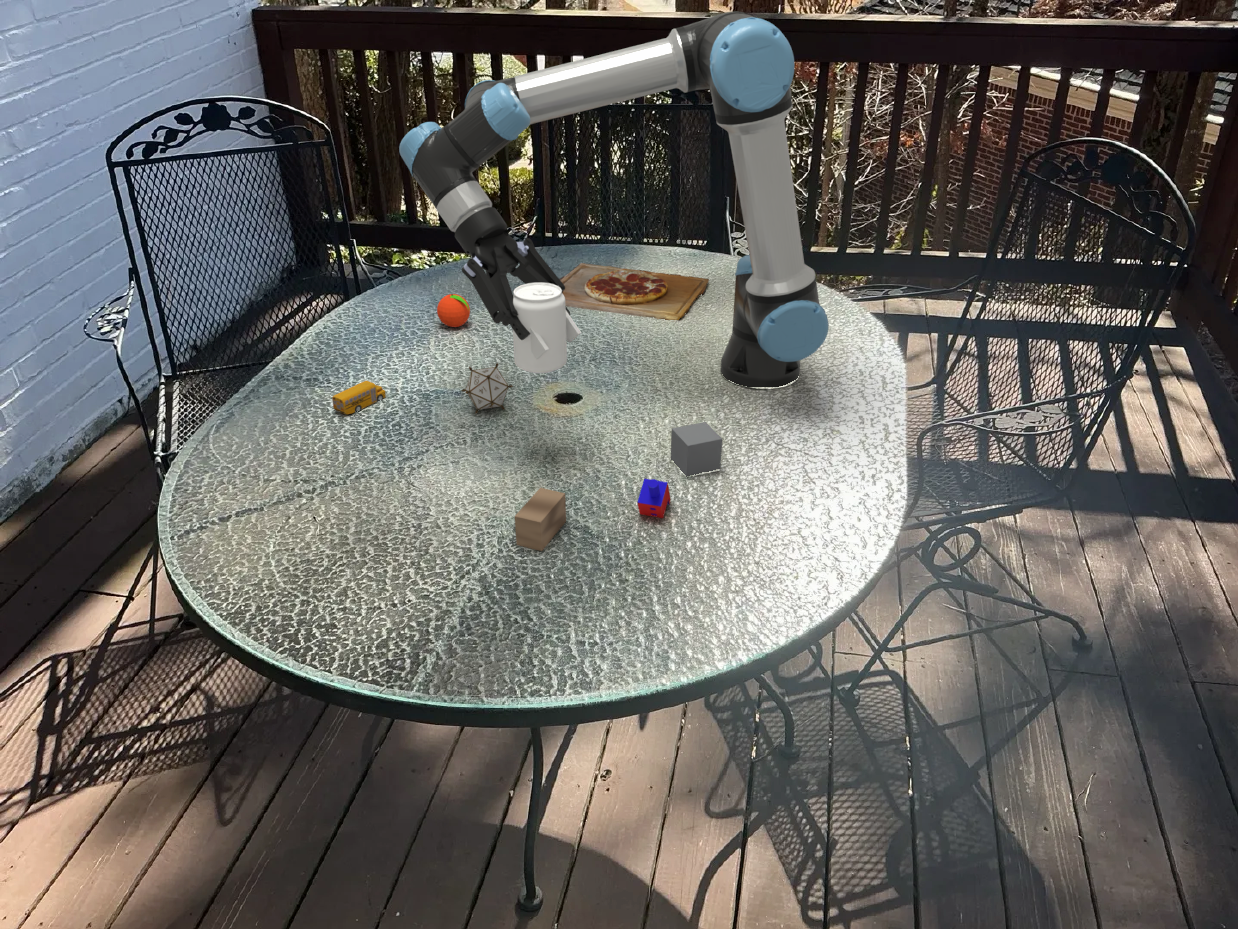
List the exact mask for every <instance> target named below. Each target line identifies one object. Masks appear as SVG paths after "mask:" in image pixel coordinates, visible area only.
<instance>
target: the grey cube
mask: <svg viewBox="0 0 1238 929" xmlns="http://www.w3.org/2000/svg"><path fill="white" fill-rule="evenodd" d="M670 436H671V437H670V458H671V460H673V461H674V463H675V464H676V465H677V466H678V467H679V468H680V470H681V471H682V472H683V473H684V474H685V475H686V477H687V476H690V475H694V474H695V475H696V474H699V473H702V472H709V471H713V470H716V469H720V470H721V466H722V465H721V464H722V450H723V437H721V436H720V435H719V434H718V433H717V432H716V431H715V430H714V429H713V428H712V427H711V426H710V424H708V422H706V421H701V422H697V423H693V424H688V425H686V424H685V425H682V426H681V425H680V426H677V427H672V428H671V434H670ZM671 460H670V461H671Z"/></svg>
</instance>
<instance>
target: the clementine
mask: <svg viewBox="0 0 1238 929" xmlns="http://www.w3.org/2000/svg"><path fill="white" fill-rule="evenodd" d="M436 307H437V308H436V312H437V313H436V314H437V317H438V318H439V321H440V322H442V324H444V325H445V326H447V327H449V328H458V327H462V326H464V325H465V324H466V322H467V321H468V320H469V318H470V313H471V308H470V304H469V303H468V301H467V300H466V299H465V297H463V296H462V295H459V294H456V293H450V294H447V295H445V296H443V297H442V298H441V299H440V300H439V302H438V304H437V306H436Z"/></svg>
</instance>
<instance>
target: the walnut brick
mask: <svg viewBox="0 0 1238 929" xmlns="http://www.w3.org/2000/svg"><path fill="white" fill-rule="evenodd" d="M566 522H567V506H566V492H561V491H557V490H553V489H548V488H543V487H539V489H538V490H537V491H536V492H534V494H533V495H532V496H531V497H530V498H529V500H528V501H526V503H525V504H524V505H523V506H522V507H521V508H520V509H519V511H518V512H517V513H516V514H515V515H514V524H515V525H514V530H515V540H516V541H515V542H516V545H517V546H520V547H524V548H527V549H532V550H535V551H540V552H543V551H544V549H545V548H546V547H547V546H548V544H549V543H550V542H551V541H552V540H553V538H554V537H555V536H556V534H557V533H558V532H559V531H560V530H561V529H562V527H563V526H564V525H565V523H566Z"/></svg>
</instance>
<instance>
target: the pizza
mask: <svg viewBox="0 0 1238 929" xmlns="http://www.w3.org/2000/svg"><path fill="white" fill-rule="evenodd" d="M559 279H560V281H561V282H562V283H563V284H564V286H565V290H564V291H563V293H562V294H563V295H564V297H565V306H566V307H567V308H569V307H570V308H576V309H584V310H591V311H598V312H605V313H613V314H621V315H626V316H633V317H634V316H635V317H641V316H642V318H643V317H644V318H653V317H654V319H655V320H659V319H665V320H679V319H680V318H681V319H683V318H684V317H685V315H686V314H688V313H689V311H690V309H691V308H690V306H691V307H692V306H693V304H694V303H695V302H694V301H696V300H697V299H699V297H700V296H699V295H701V294H703V295H704V294H705V291H706V288H707V286H708V284H709V282H710V280H709V278H704V277H696V276H691V275H689V276H686V275H682V274H678V273H677V274H676V273H675V274H674V273H664V272H654V271H649V270H642V269H639V270H638V269H631V268H621V267H616V266H611V265H607V266H605V265H601V264H592V263H585V262H582V263H578V265H577V266H575V267H573V269H572V270H570V271H569V273H567V274H566V275H564V276H562V277H560V278H559ZM698 296H699V297H698ZM696 298H697V299H696ZM693 302H694V303H693ZM689 308H690V309H689ZM687 312H688V313H687ZM685 313H686V314H685ZM684 314H685V315H684ZM683 316H684V317H683ZM682 317H683V318H682ZM681 319H680V320H681ZM680 320H679V321H680Z"/></svg>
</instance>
